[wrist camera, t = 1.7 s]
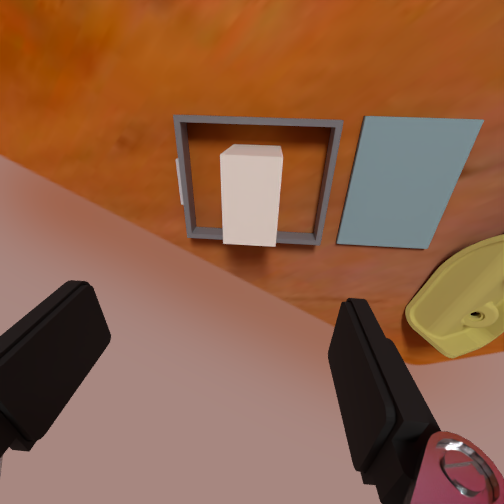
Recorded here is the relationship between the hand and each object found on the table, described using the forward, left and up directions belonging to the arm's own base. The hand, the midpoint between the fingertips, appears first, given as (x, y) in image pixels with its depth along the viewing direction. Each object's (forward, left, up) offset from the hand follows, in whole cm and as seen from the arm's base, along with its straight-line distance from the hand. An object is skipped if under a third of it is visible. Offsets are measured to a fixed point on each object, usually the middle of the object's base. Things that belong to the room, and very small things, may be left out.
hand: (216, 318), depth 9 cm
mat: (-16, 0, -22) cm, 27 cm away
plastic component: (-30, +11, -22) cm, 39 cm away
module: (0, 0, -22) cm, 22 cm away
